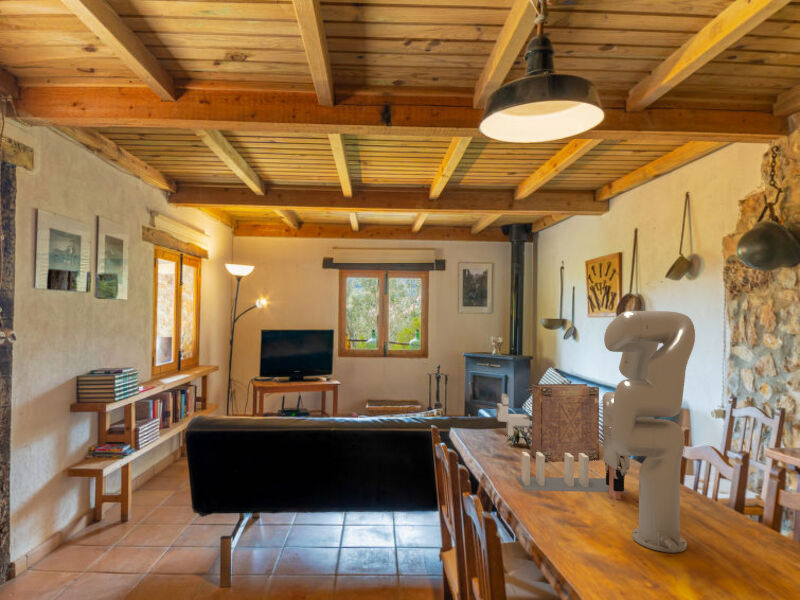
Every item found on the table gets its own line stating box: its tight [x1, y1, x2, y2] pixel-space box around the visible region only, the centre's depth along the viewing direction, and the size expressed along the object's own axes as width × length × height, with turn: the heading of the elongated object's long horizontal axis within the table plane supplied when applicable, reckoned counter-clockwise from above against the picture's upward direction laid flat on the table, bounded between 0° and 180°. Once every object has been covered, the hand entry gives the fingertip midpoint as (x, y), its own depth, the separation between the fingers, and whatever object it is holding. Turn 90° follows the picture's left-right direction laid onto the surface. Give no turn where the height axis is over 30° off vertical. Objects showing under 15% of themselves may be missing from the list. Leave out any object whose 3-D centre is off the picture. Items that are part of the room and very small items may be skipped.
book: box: [531, 383, 600, 463], centre depth 205 cm, size 25×9×30 cm, turn 101°
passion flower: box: [504, 425, 532, 449], centre depth 221 cm, size 11×11×12 cm
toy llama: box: [495, 392, 532, 437], centre depth 242 cm, size 8×18×20 cm, turn 85°
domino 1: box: [521, 451, 531, 486], centre depth 171 cm, size 5×2×10 cm, turn 0°
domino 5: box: [608, 466, 622, 500], centre depth 160 cm, size 5×2×10 cm, turn 0°
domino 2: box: [535, 452, 546, 486], centre depth 171 cm, size 5×2×10 cm, turn 0°
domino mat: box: [515, 476, 627, 493], centre depth 171 cm, size 14×34×1 cm, turn 90°
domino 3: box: [563, 453, 575, 487], centre depth 171 cm, size 5×2×10 cm, turn 0°
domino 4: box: [578, 453, 590, 487], centre depth 171 cm, size 5×2×10 cm, turn 0°
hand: (614, 487), depth 160 cm, fingers closed on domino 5, 4 cm apart
